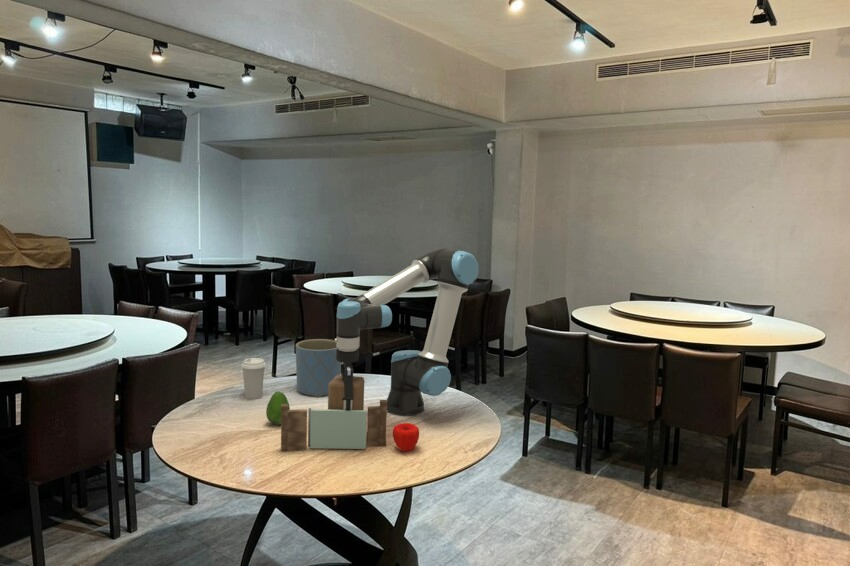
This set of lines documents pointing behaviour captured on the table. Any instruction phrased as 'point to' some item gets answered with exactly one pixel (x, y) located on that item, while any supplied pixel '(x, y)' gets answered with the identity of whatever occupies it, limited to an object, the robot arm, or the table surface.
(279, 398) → the fruit
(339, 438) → the door
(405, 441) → the apple
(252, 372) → the coffee cup
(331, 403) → the wooden block
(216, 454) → the table surface
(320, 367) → the planter
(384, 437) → the wall frame
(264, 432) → the table surface
